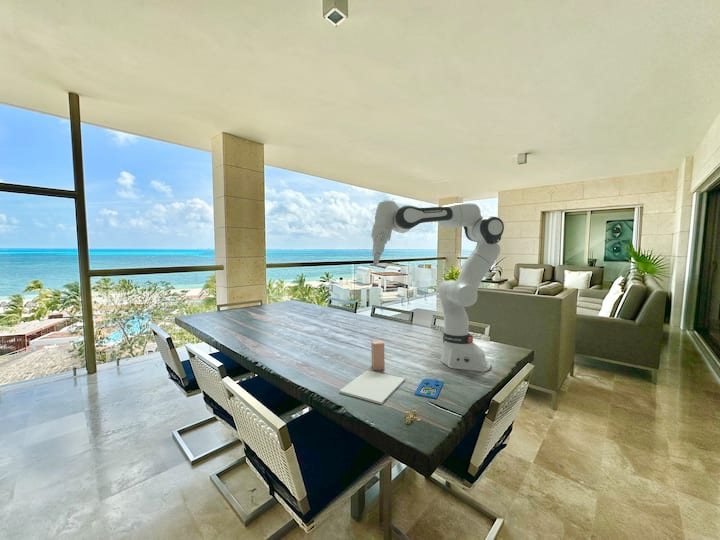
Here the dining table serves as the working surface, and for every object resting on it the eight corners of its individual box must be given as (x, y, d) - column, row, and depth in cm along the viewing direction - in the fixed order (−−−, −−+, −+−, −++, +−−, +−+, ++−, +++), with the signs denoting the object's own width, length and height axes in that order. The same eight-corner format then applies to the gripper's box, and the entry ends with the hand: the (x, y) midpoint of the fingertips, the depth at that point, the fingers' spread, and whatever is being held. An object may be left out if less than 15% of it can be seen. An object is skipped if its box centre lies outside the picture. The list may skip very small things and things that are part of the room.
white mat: (404, 380, 122) (404, 378, 122) (381, 404, 103) (381, 402, 103) (366, 371, 131) (366, 370, 131) (339, 392, 112) (339, 390, 112)
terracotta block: (382, 365, 139) (381, 340, 138) (384, 369, 134) (384, 343, 133) (371, 365, 138) (371, 340, 138) (373, 369, 133) (373, 344, 133)
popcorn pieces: (406, 426, 91) (406, 420, 91) (401, 416, 96) (401, 411, 96) (422, 424, 92) (422, 418, 92) (416, 415, 97) (416, 409, 97)
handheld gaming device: (443, 380, 120) (436, 397, 106) (443, 383, 120) (436, 400, 106) (423, 377, 123) (413, 392, 110) (423, 379, 123) (414, 395, 110)
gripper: (390, 231, 124) (384, 263, 123) (385, 240, 145) (380, 267, 143) (376, 228, 124) (370, 260, 123) (373, 237, 144) (367, 265, 143)
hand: (375, 264), depth 133 cm, fingers open, 8 cm apart
